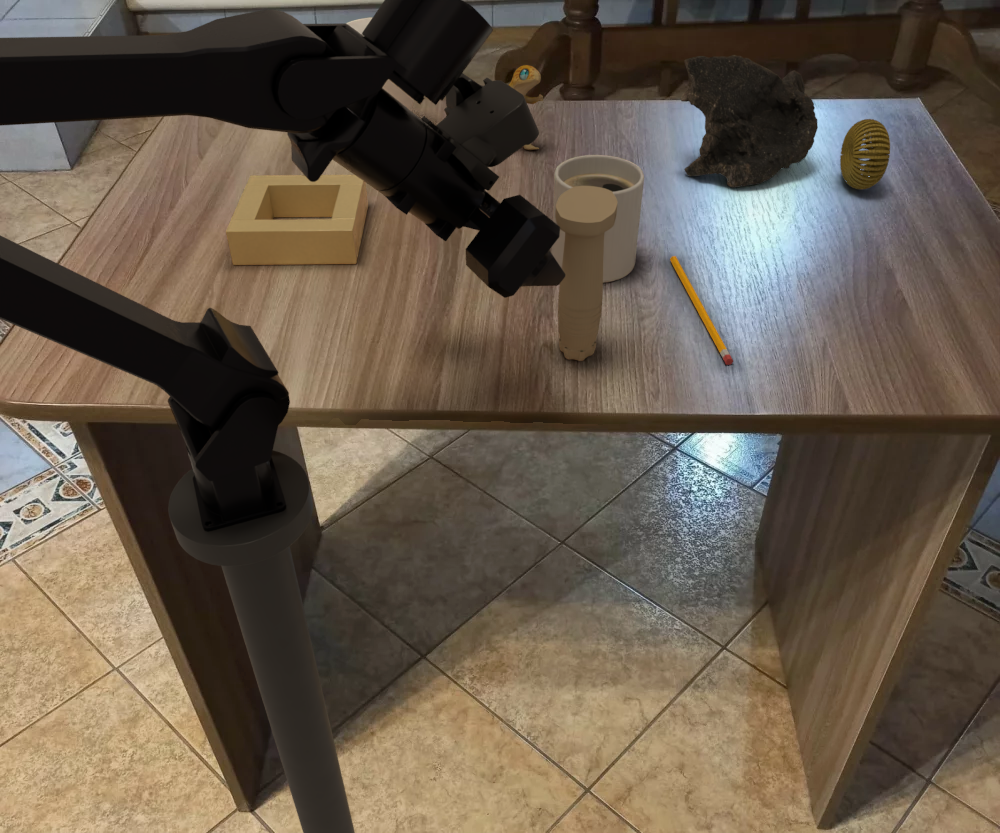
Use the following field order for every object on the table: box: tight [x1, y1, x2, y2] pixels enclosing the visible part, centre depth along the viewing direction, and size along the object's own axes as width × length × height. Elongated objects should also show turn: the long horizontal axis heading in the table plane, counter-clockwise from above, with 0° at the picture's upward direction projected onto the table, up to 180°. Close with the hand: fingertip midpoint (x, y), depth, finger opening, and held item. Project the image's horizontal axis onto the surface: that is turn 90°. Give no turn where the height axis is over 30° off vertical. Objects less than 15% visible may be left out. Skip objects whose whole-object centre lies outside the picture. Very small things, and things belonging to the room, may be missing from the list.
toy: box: [508, 64, 544, 151], centre depth 116 cm, size 7×15×10 cm, turn 44°
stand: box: [225, 174, 369, 266], centre depth 99 cm, size 13×13×4 cm
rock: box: [680, 54, 819, 188], centre depth 111 cm, size 17×12×15 cm
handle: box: [555, 186, 618, 362], centre depth 78 cm, size 5×6×15 cm
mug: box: [550, 154, 645, 284], centre depth 93 cm, size 11×10×10 cm
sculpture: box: [839, 118, 891, 190], centre depth 106 cm, size 8×4×8 cm, turn 179°
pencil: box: [669, 255, 734, 366], centre depth 88 cm, size 1×18×1 cm, turn 8°
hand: (531, 253), depth 74 cm, fingers open, 9 cm apart
